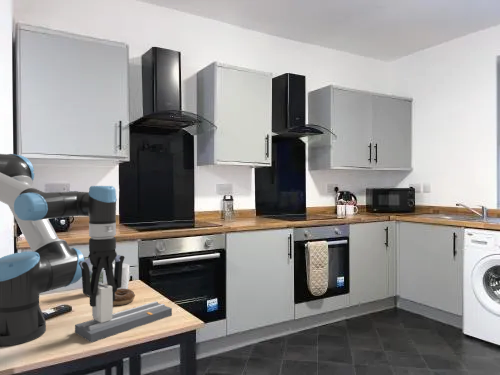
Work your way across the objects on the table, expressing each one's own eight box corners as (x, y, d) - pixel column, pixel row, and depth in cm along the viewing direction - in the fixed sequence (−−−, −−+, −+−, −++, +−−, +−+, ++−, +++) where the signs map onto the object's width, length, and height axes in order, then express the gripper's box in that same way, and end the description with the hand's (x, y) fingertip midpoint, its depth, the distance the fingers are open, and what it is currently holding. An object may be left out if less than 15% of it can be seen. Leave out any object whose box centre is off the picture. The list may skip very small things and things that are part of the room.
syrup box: (99, 290, 152) (99, 255, 151) (103, 294, 147) (103, 258, 147) (84, 293, 148) (84, 257, 148) (88, 297, 143) (88, 259, 143)
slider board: (74, 332, 110) (74, 321, 110) (154, 308, 131) (154, 299, 131) (91, 342, 104) (91, 330, 104) (171, 315, 125) (171, 305, 125)
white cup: (123, 292, 149) (123, 268, 149) (105, 291, 151) (105, 267, 151) (133, 287, 157) (133, 263, 157) (116, 286, 159) (116, 262, 158)
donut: (124, 295, 146) (124, 285, 146) (140, 301, 140) (140, 290, 140) (99, 302, 138) (99, 292, 138) (115, 308, 131) (115, 297, 131)
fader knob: (92, 321, 112) (92, 285, 111) (103, 318, 114) (103, 282, 114) (101, 326, 108) (101, 288, 108) (112, 322, 111) (112, 285, 111)
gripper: (81, 241, 102) (80, 325, 103) (134, 235, 115) (133, 310, 115) (68, 238, 107) (68, 319, 107) (121, 233, 120) (121, 304, 120)
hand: (102, 314), depth 111 cm, fingers closed on fader knob, 3 cm apart
